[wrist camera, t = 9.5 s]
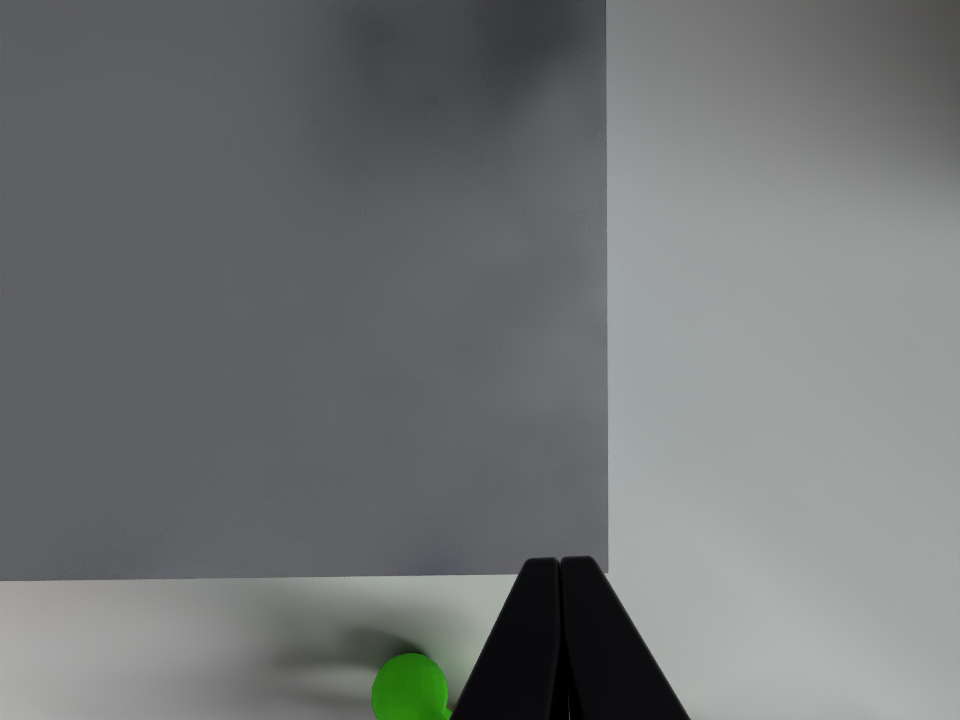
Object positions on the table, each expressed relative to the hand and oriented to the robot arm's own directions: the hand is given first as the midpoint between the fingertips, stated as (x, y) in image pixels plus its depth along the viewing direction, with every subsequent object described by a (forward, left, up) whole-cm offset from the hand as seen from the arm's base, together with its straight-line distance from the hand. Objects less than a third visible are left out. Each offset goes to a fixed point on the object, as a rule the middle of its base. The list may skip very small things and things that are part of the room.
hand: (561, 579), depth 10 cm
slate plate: (+8, -3, -13) cm, 15 cm away
